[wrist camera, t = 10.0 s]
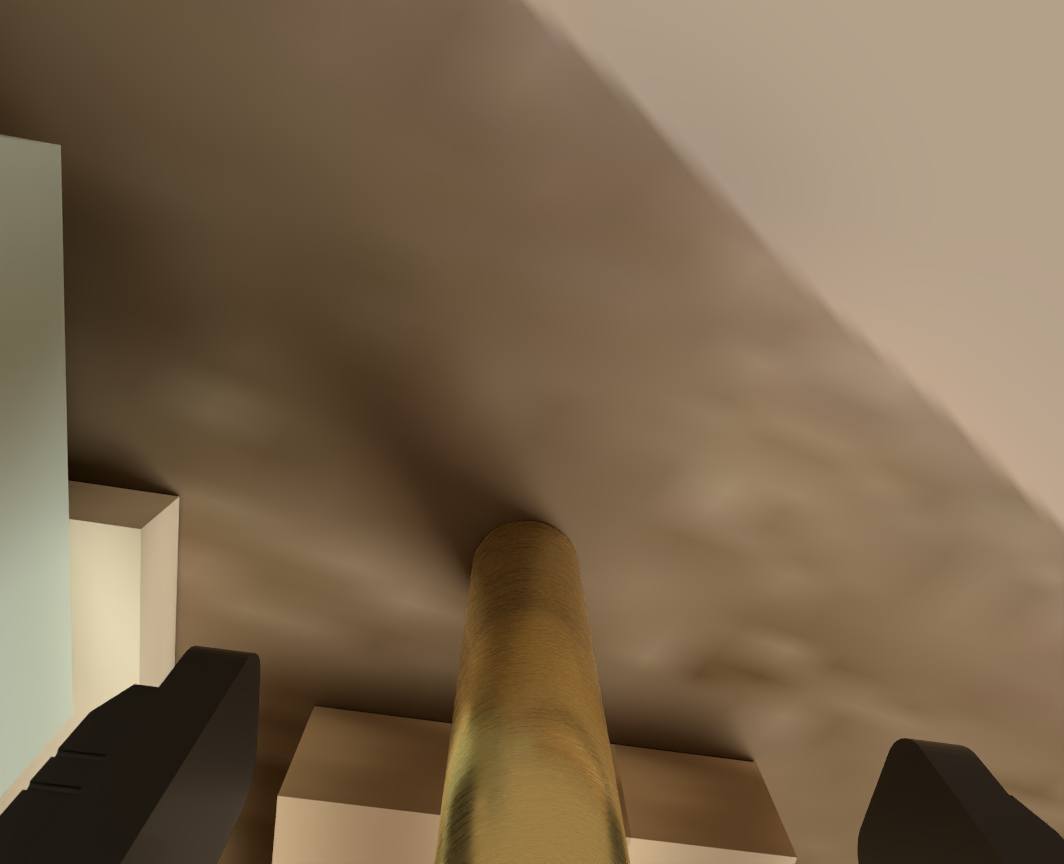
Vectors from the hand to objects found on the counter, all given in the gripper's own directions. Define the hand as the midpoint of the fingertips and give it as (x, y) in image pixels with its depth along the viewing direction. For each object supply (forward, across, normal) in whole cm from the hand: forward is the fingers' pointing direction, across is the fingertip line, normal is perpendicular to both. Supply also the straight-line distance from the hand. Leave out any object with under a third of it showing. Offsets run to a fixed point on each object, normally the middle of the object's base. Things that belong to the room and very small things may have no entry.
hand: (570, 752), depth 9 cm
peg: (+6, 0, +1) cm, 6 cm away
